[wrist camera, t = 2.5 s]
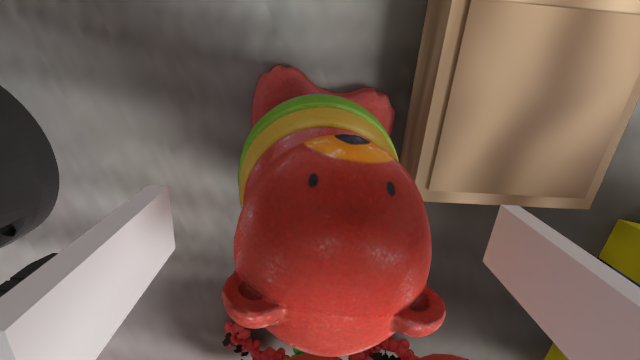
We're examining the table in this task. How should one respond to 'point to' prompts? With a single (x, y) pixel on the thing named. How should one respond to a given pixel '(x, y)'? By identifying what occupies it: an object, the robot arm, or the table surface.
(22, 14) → the table surface
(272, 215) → the stacking bear
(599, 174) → the oak stand
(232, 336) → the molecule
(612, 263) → the decorative book
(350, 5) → the table surface
